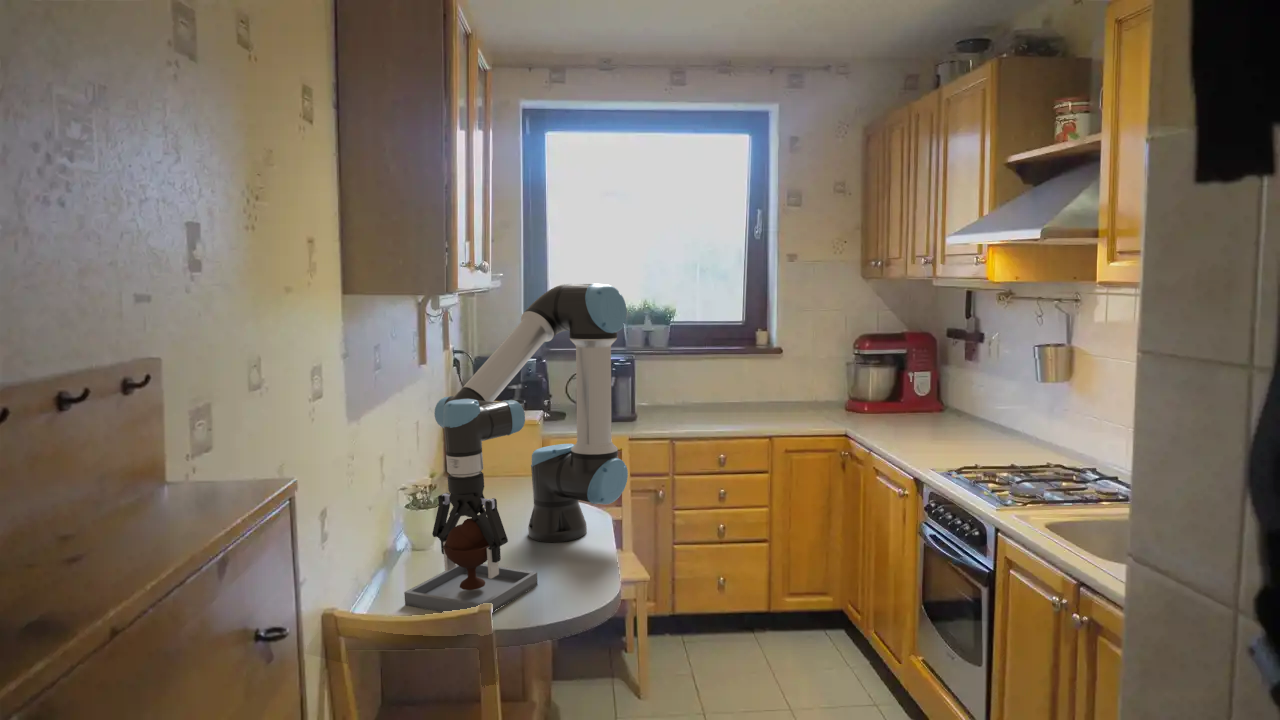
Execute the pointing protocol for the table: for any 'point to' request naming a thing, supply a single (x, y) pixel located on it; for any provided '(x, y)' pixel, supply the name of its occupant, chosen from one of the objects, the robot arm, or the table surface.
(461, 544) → the ice cream bowl
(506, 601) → the tray
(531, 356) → the robot arm
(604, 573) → the table surface
